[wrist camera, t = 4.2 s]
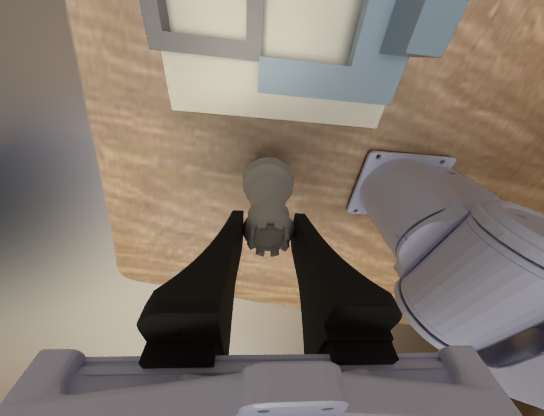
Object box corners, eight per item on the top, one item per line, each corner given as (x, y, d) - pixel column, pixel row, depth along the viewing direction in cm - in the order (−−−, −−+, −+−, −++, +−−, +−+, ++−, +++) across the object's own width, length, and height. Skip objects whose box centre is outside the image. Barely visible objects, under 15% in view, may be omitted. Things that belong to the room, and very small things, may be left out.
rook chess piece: (303, 175, 18) (323, 237, 12) (271, 207, 20) (274, 275, 14) (263, 143, 17) (261, 196, 10) (233, 182, 18) (215, 247, 12)
